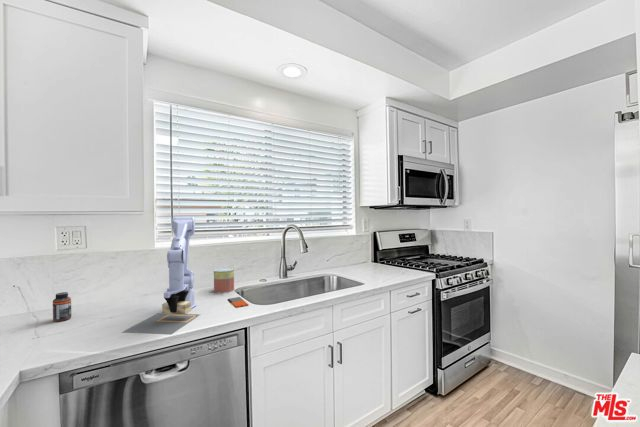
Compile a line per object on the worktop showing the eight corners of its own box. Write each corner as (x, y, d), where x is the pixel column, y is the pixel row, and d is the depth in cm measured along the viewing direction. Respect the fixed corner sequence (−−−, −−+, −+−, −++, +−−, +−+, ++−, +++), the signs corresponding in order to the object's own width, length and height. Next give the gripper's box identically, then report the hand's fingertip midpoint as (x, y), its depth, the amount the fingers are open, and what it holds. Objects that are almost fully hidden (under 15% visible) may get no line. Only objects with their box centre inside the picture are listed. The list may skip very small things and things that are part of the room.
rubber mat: (157, 314, 132) (157, 312, 132) (200, 315, 129) (200, 314, 129) (121, 333, 111) (121, 332, 111) (171, 335, 109) (171, 334, 109)
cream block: (191, 310, 126) (190, 301, 126) (185, 314, 122) (185, 304, 122) (168, 310, 127) (168, 300, 127) (162, 313, 123) (162, 304, 123)
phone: (235, 306, 140) (227, 298, 152) (235, 309, 140) (227, 301, 152) (249, 303, 143) (239, 296, 156) (249, 306, 143) (239, 298, 156)
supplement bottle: (53, 319, 127) (52, 293, 126) (71, 316, 130) (71, 290, 130) (52, 323, 122) (52, 295, 122) (71, 319, 126) (71, 293, 126)
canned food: (218, 287, 177) (218, 267, 177) (236, 287, 177) (236, 267, 177) (210, 292, 166) (210, 271, 166) (230, 292, 166) (230, 271, 166)
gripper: (177, 274, 132) (178, 304, 132) (156, 281, 118) (156, 315, 118) (192, 274, 131) (193, 304, 132) (173, 282, 117) (173, 316, 117)
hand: (177, 310), depth 125 cm, fingers closed on cream block, 4 cm apart
